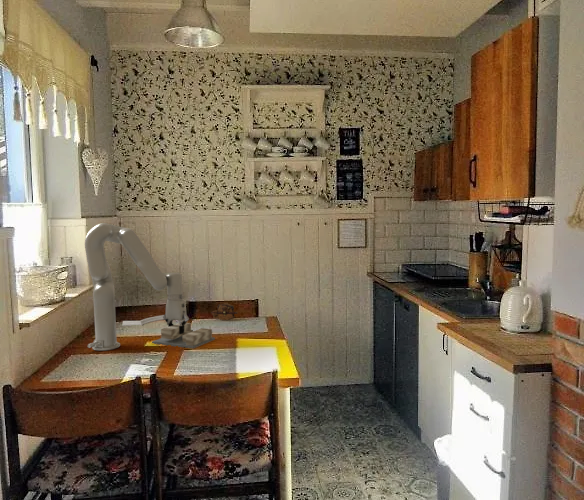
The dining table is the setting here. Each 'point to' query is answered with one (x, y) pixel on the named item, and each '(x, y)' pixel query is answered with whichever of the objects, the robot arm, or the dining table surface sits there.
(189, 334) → the fixed plank
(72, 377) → the dining table surface
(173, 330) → the ash plank
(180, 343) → the floor panel
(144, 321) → the molding
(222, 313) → the wooden carving
